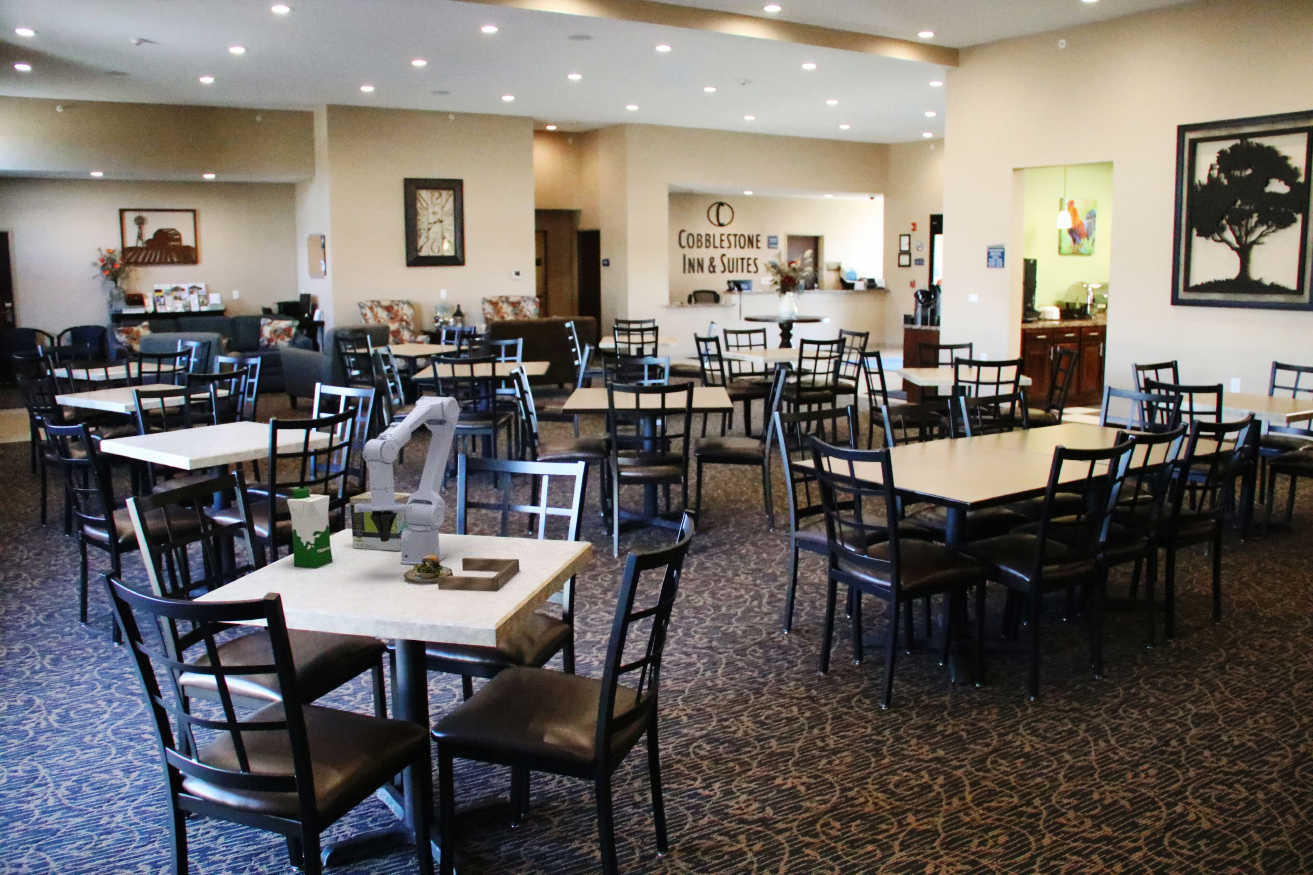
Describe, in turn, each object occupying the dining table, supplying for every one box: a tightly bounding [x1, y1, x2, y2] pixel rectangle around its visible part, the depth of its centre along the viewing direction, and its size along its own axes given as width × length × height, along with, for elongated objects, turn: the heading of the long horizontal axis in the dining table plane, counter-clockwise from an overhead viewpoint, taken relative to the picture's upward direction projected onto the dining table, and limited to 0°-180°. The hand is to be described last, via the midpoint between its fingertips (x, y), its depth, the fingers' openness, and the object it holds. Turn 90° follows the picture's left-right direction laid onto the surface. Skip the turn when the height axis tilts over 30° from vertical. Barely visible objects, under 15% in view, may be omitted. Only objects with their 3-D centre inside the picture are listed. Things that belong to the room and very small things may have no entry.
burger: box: [403, 548, 454, 583], centre depth 257 cm, size 12×12×8 cm
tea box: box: [349, 491, 414, 552], centre depth 289 cm, size 15×10×15 cm
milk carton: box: [286, 487, 333, 569], centre depth 271 cm, size 9×9×20 cm
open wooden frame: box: [437, 557, 520, 592], centre depth 255 cm, size 15×17×3 cm
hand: (385, 540), depth 258 cm, fingers closed
